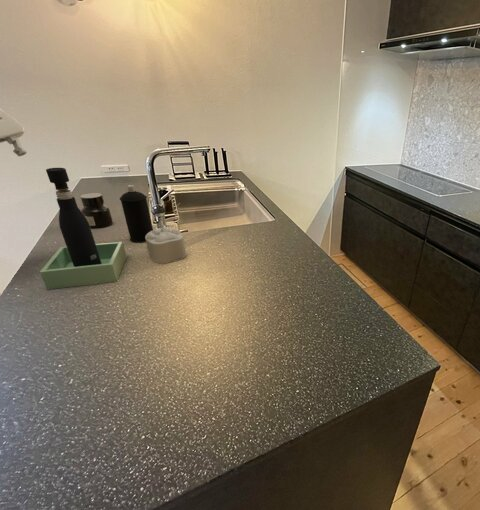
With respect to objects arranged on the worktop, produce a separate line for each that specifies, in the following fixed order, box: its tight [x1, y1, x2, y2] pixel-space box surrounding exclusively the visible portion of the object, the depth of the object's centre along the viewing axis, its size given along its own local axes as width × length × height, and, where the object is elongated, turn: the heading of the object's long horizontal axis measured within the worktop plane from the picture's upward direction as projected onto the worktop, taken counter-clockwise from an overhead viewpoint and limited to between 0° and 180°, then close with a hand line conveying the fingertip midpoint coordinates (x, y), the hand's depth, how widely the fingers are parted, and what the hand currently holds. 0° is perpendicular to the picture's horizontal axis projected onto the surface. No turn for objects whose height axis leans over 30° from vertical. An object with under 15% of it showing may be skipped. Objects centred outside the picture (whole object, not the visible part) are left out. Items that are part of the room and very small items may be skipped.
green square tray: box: [39, 241, 128, 291], centre depth 91 cm, size 16×16×6 cm
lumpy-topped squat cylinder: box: [145, 226, 187, 265], centre depth 104 cm, size 10×13×9 cm
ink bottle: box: [79, 192, 114, 229], centre depth 121 cm, size 10×9×12 cm
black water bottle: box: [45, 167, 102, 267], centre depth 86 cm, size 6×6×30 cm
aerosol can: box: [119, 184, 154, 243], centre depth 111 cm, size 8×8×20 cm
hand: (5, 160), depth 78 cm, fingers open, 8 cm apart
